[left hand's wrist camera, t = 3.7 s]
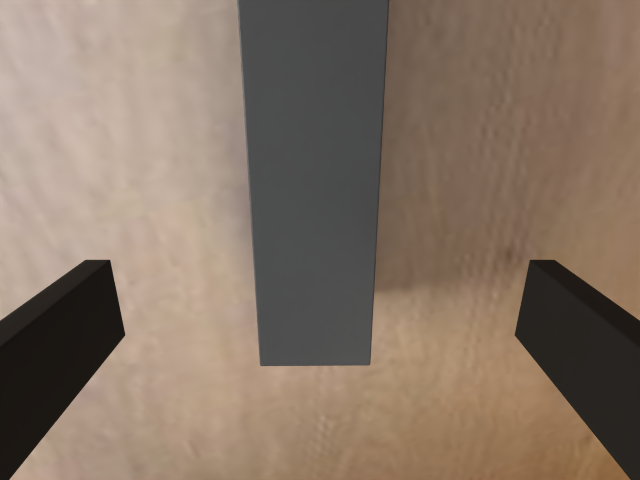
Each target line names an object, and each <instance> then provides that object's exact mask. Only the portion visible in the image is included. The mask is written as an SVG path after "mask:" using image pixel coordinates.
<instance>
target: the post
mask: <svg viewBox="0 0 640 480" xmlns="http://www.w3.org/2000/svg"><path fill="white" fill-rule="evenodd" d="M237 2H238V18H239V34H240V50H241V66H242V82H243V99H244V115H245V131H246V147H247V163H248V179H249V195H250V211H251V227H252V243H253V259H254V276H255V292H256V308H257V324H258V340H259V356H260V366H334V365H370V359H371V340H372V320H373V301H374V282H375V263H376V243H377V224H378V205H379V186H380V166H381V147H382V128H383V109H384V89H385V70H386V51H387V32H388V12H389V0H237Z"/></svg>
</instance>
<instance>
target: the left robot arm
mask: <svg viewBox="0 0 640 480" xmlns="http://www.w3.org/2000/svg"><path fill="white" fill-rule="evenodd" d="M124 336H125V331H124V326H123V321H122V316H121V311H120V307H119V302H118V297H117V292H116V287H115V282H114V277H113V272H112V267H111V262H110V260H85V261H83V262H82V263H81V264H79V265H78V266H76V267H75V268H74V269H72V270H71V271H69V272H68V273H67V274H65V275H64V276H62V277H61V278H60V279H58V280H57V281H55V282H54V283H53V284H51V285H50V286H48V287H47V288H45V289H44V290H43V291H41V292H40V293H38V294H37V295H36V296H34V297H33V298H31V299H30V300H29V301H27V302H26V303H24V304H23V305H22V306H20V307H19V308H17V309H16V310H15V311H13V312H12V313H10V314H9V315H8V316H6V317H5V318H3V319H2V320H1V321H0V480H9V479H10V478H11V477H12V476H13V474H14V473H15V472H16V471H17V469H18V468H19V467H20V466H21V464H22V463H23V462H24V461H25V459H26V458H27V457H28V456H29V454H30V453H31V452H32V451H33V449H34V448H35V447H36V446H37V444H38V443H39V442H40V441H41V439H42V438H43V437H44V436H45V434H46V433H47V432H48V431H49V429H50V428H51V427H52V426H53V425H54V423H55V422H56V421H57V420H58V418H59V417H60V416H61V415H62V413H63V412H64V411H65V410H66V408H67V407H68V406H69V405H70V403H71V402H72V401H73V400H74V398H75V397H76V396H77V395H78V393H79V392H80V391H81V390H82V388H83V387H84V386H85V385H86V383H87V382H88V381H89V380H90V378H91V377H92V376H93V375H94V373H95V372H96V371H97V370H98V368H99V367H100V366H101V365H102V363H103V362H104V361H105V360H106V358H107V357H108V356H109V355H110V354H111V352H112V351H113V350H114V349H115V347H116V346H117V345H118V344H119V342H120V341H121V340H122V339H123V337H124ZM515 336H516V337H517V339H518V340H519V341H520V342H521V344H522V345H523V346H524V347H525V349H526V350H527V351H528V352H529V354H530V355H531V356H532V357H533V358H534V360H535V361H536V362H537V363H538V365H539V366H540V367H541V368H542V370H543V371H544V372H545V373H546V375H547V376H548V377H549V378H550V380H551V381H552V382H553V383H554V385H555V386H556V387H557V388H558V390H559V391H560V392H561V393H562V395H563V396H564V397H565V398H566V400H567V401H568V402H569V403H570V405H571V406H572V407H573V408H574V410H575V411H576V412H577V413H578V415H579V416H580V417H581V418H582V420H583V421H584V422H585V423H586V425H587V426H588V427H589V428H590V429H591V431H592V432H593V433H594V434H595V436H596V437H597V438H598V439H599V441H600V442H601V443H602V444H603V446H604V447H605V448H606V449H607V451H608V452H609V453H610V454H611V456H612V457H613V458H614V459H615V461H616V462H617V463H618V464H619V466H620V467H621V468H622V469H623V471H624V472H625V473H626V474H627V476H628V477H629V478H630V479H631V480H640V321H639V320H638V319H637V318H635V317H634V316H632V315H631V314H630V313H628V312H627V311H625V310H624V309H623V308H621V307H620V306H618V305H617V304H616V303H614V302H613V301H611V300H610V299H609V298H607V297H606V296H604V295H603V294H602V293H600V292H599V291H597V290H596V289H595V288H593V287H592V286H590V285H589V284H587V283H586V282H585V281H583V280H582V279H580V278H579V277H578V276H576V275H575V274H573V273H572V272H571V271H569V270H568V269H566V268H565V267H564V266H562V265H561V264H559V263H558V262H557V261H555V260H530V262H529V267H528V272H527V277H526V282H525V287H524V292H523V297H522V302H521V307H520V311H519V316H518V321H517V326H516V331H515Z"/></svg>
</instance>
